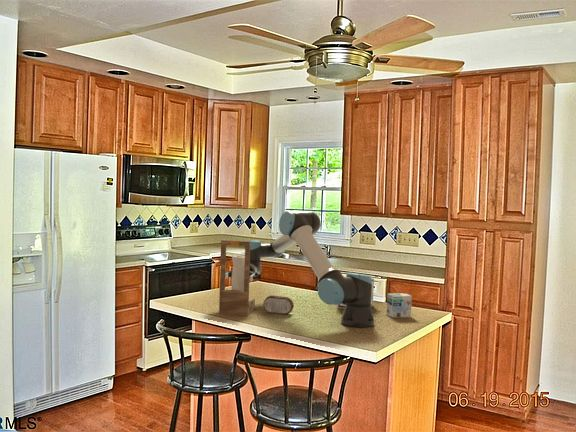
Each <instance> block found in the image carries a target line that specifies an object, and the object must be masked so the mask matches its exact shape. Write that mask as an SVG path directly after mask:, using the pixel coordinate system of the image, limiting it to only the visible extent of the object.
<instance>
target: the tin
mask: <svg viewBox="0 0 576 432" xmlns="http://www.w3.org/2000/svg"><path fill="white" fill-rule="evenodd" d="M263 309H264V310H265V311H266V312H267V313H268V314H277V315H288V314H290V313H292V311H293V309H294V301H293V300H292V298H289V296H280V295H268V296H266V298H265V299H264V300H263Z"/></svg>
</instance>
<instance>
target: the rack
mask: <svg viewBox="0 0 576 432" xmlns="http://www.w3.org/2000/svg"><path fill="white" fill-rule="evenodd" d="M227 245H228V246H232V247H236V246H237V247H239V246H241V247H242V246H244V253H245V254H244V257H245V265H244V266H245V268H244V291H239V290H232V289H226V279H225V272H226V271H227V270H226V269H227V267H226V266H227V265H226V262H227ZM219 263H220V266H219V267H220V269H219V300H218V301H219V303H218V305H219V309H218V314H221V315H232V316H244V317H246V316H247V317H248V316H249V315H250V314H251V313H252V312H253V311H255V310H256V309H255V308H256V307H255V305H256V304H255V303H256V302H255V301H256V298H252V299H249V298H250V280H249V273H250V241H249V240H235V239H234V240H233V239H231V240H229V239H221V240H220V262H219Z"/></svg>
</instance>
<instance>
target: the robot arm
mask: <svg viewBox="0 0 576 432" xmlns="http://www.w3.org/2000/svg"><path fill="white" fill-rule="evenodd" d="M278 222H279V223H278V229H279V231H280V233H281V234H282V235H280V237H278V238H276V239H275V240H274V241H272V242H269V243H262V242H261V240H259V239H257V240H255V239H254V240H253V239H252V240H248V241H250V273H249V283H250V282H251V283H252V282H253V281H254V280H259V281H260V280H262V274H261V272H262V269H263V268H262V267H263V266H262V263H261V258H277V257H278V258H279V257H281V256H283V254H284V253H285V251H286V250H288V249H289V248H291V247H293V246H294V245H295V244H296V245H298V248H299V250H301V252H302V254H303V256H304V258H305V259H306V261H307V262H308V264H309V266H310V267H311V269H312V270H313V272H314V274H315V275H316V277H317V278H318V280H317V295H318V297H319V299H320V300H321V301H322V303H324V304H325V305H330V306H331V305H333V306H334V305H335V306H337V305H338V304H342V303H346V306H345V308H343V311H342V315H341V321H340V323H341V324H342V325H344V326H349V327H355V328H369V327H373V326H374V325H375V317H374V315H373V310H372V307H371V294H372V278H373V277H372V276H370V275H368V274H362V273H355V272H347V273H346V275H345V276H346V277H345V276H344V275H343V274H342V273H341V271H340V269H337V268H335V267H334V266H333V264H332V263H331V261H330V259H329V258H328V256H327V255H326V253H325V252H324V251H323V249H322V247H321V245H320V244H319V242H318V241H317V239H316V237H315V236H314V235H315V234H317V232H318V231H319V230H320V228H321V218H320V217H319V215H318V214H317V213H315V212H314V211H311V210H288V211H283V213H282V214H281V215H280V218H279V220H278ZM244 268H245V265H244ZM232 271H233V269H232V270H226V271H225V280H227V279H229V278H232Z"/></svg>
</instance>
